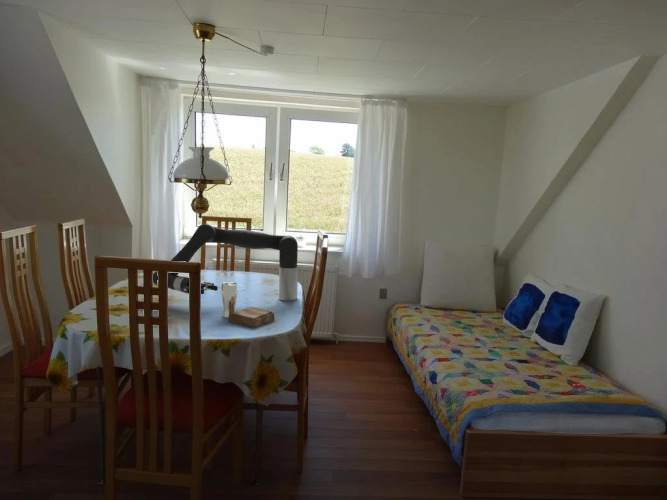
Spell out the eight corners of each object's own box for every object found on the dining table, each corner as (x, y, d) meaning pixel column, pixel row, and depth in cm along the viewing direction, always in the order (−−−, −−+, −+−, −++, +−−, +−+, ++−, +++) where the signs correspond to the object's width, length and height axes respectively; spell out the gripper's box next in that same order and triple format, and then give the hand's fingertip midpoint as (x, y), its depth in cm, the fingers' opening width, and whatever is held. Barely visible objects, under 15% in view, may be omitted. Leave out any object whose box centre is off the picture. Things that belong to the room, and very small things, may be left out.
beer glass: (218, 315, 202) (218, 283, 200) (231, 312, 207) (231, 281, 205) (226, 319, 197) (226, 286, 195) (240, 316, 202) (240, 284, 200)
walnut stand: (249, 314, 205) (249, 306, 204) (274, 319, 198) (274, 311, 198) (228, 322, 193) (228, 313, 192) (253, 328, 186) (254, 318, 186)
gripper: (173, 279, 207) (199, 284, 199) (196, 275, 219) (221, 279, 211) (173, 295, 208) (198, 301, 200) (196, 289, 220) (221, 295, 212)
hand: (210, 290), depth 206 cm, fingers open, 8 cm apart
